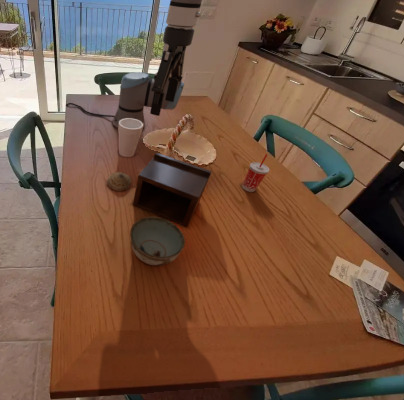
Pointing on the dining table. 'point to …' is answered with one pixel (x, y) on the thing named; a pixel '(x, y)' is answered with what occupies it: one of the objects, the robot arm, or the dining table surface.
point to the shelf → (170, 188)
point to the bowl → (156, 240)
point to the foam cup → (129, 136)
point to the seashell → (119, 181)
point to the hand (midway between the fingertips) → (162, 107)
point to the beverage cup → (255, 175)
